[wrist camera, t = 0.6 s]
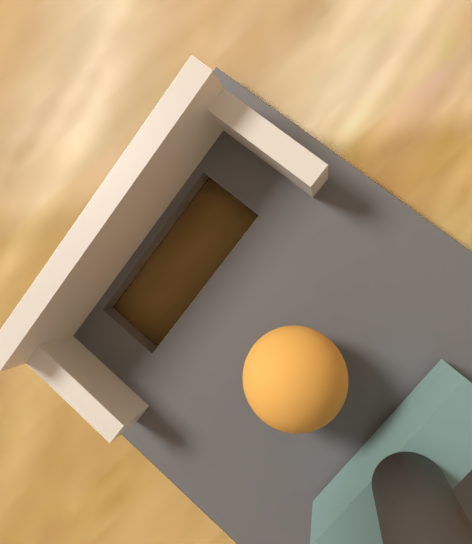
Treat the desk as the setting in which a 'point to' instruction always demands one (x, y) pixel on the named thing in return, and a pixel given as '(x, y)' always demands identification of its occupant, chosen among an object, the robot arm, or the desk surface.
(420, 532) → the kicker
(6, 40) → the desk surface
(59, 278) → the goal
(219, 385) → the board
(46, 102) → the desk surface
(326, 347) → the ball
